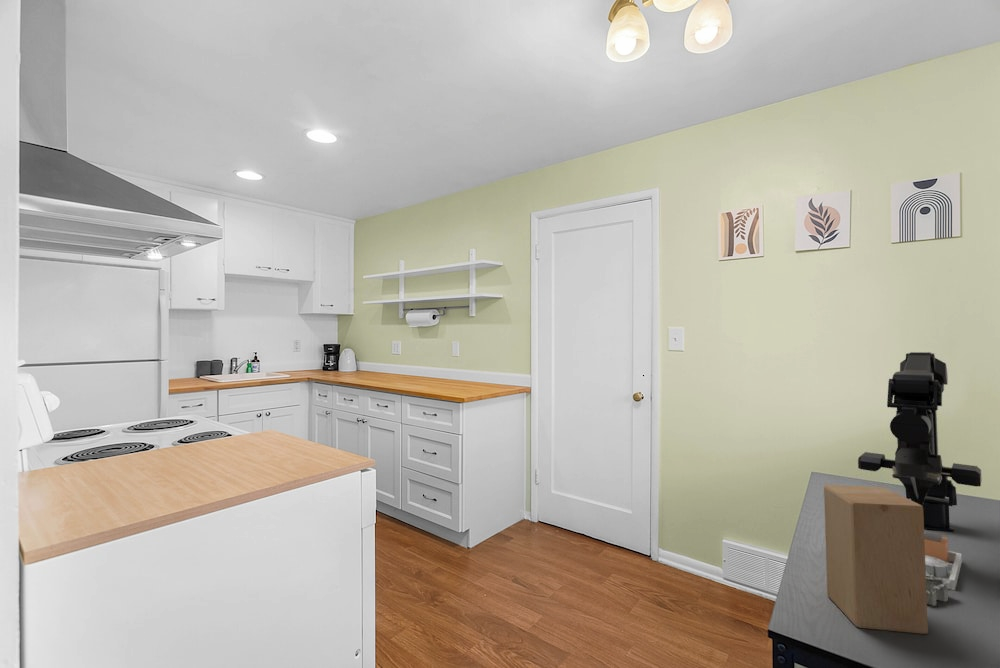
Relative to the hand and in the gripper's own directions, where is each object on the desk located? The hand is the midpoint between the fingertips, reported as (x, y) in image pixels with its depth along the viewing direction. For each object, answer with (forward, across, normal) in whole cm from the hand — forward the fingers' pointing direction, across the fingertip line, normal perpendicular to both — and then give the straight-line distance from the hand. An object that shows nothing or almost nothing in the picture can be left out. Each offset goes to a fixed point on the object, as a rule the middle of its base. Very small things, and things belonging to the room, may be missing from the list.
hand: (918, 509), depth 97 cm
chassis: (+11, +2, -3) cm, 11 cm away
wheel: (+9, +2, -7) cm, 12 cm away
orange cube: (+11, +2, +1) cm, 11 cm away
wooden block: (+10, -3, -31) cm, 33 cm away
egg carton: (+11, 0, -16) cm, 19 cm away
